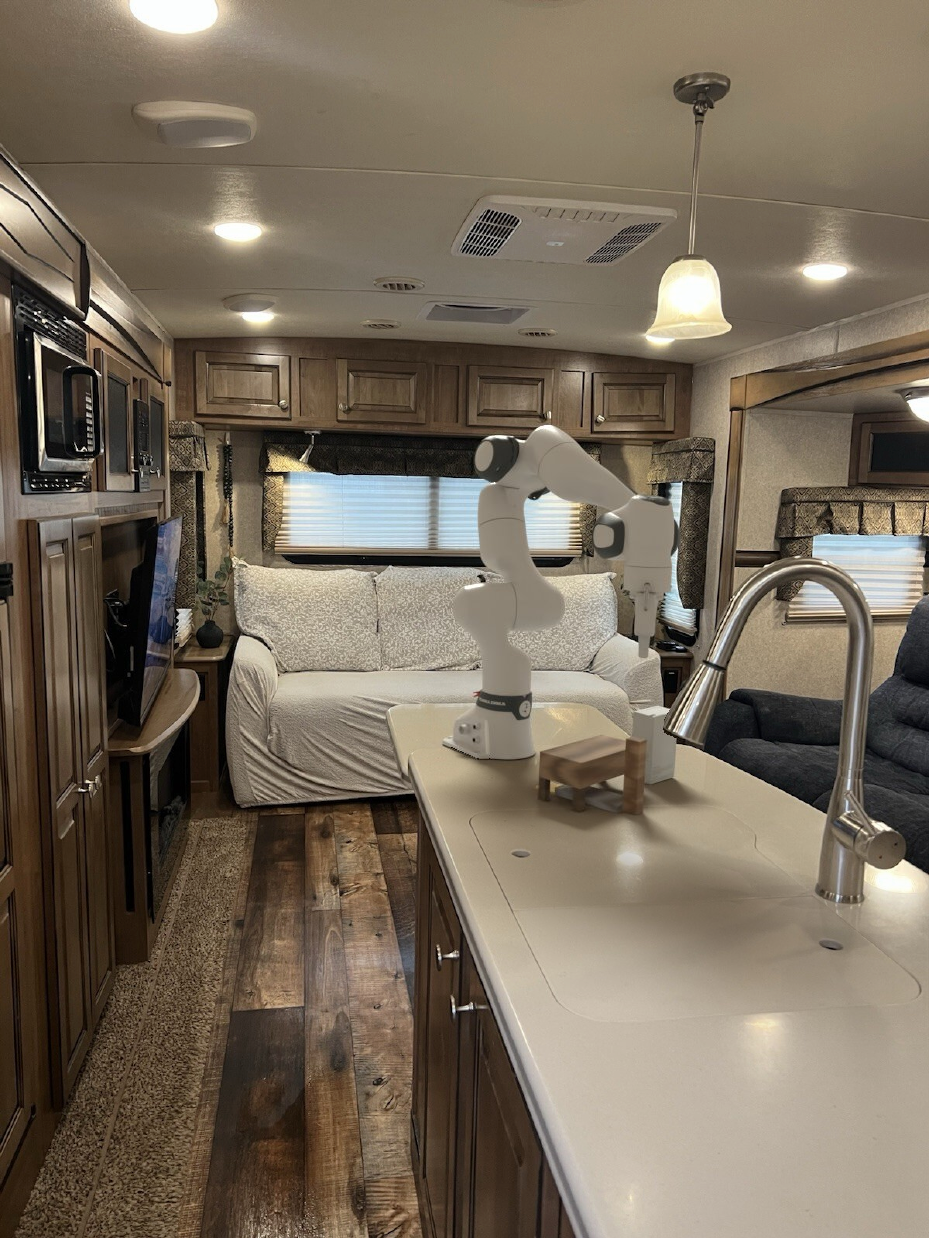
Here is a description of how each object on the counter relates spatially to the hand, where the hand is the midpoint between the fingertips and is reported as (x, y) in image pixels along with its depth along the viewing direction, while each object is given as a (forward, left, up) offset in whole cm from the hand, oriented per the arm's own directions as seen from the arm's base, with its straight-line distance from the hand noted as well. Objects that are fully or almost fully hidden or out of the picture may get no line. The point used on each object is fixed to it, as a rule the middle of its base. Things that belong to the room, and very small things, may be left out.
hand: (643, 653), depth 175 cm
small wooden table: (-8, -4, -29) cm, 30 cm away
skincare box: (-6, +15, -29) cm, 33 cm away
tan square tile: (-15, -7, -30) cm, 34 cm away
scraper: (-4, -6, -29) cm, 30 cm away
